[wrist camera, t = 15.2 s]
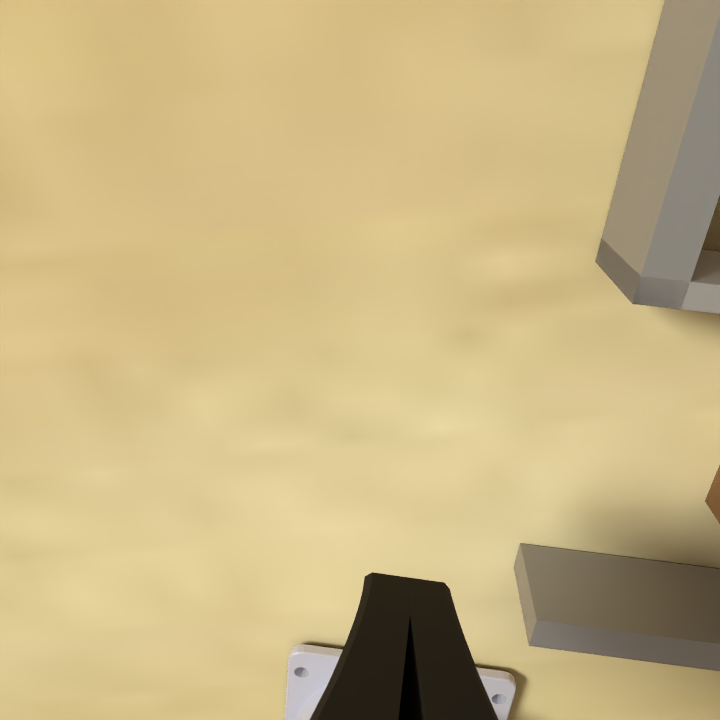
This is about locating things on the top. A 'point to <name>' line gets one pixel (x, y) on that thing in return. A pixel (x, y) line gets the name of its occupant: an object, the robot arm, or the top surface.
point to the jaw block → (715, 496)
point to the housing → (662, 289)
